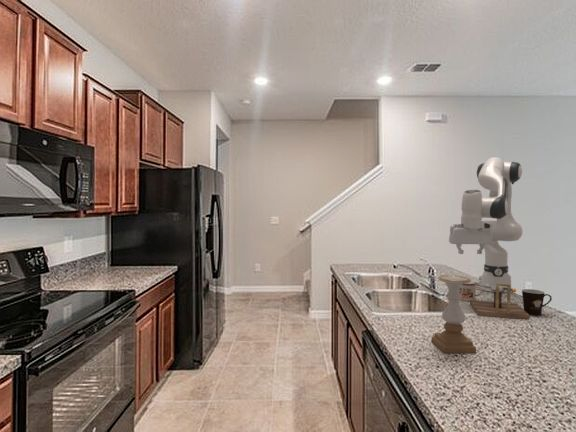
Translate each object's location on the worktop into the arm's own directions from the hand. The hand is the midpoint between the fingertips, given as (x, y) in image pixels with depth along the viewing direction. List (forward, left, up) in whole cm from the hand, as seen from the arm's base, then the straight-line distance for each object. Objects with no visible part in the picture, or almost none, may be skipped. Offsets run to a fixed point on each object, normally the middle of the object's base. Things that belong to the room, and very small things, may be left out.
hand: (470, 253), depth 184 cm
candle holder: (+57, -14, -26) cm, 64 cm away
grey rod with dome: (+3, +10, -16) cm, 19 cm away
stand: (+4, +11, -25) cm, 28 cm away
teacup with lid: (-15, +2, -26) cm, 30 cm away
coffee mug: (+4, +27, -26) cm, 37 cm away
